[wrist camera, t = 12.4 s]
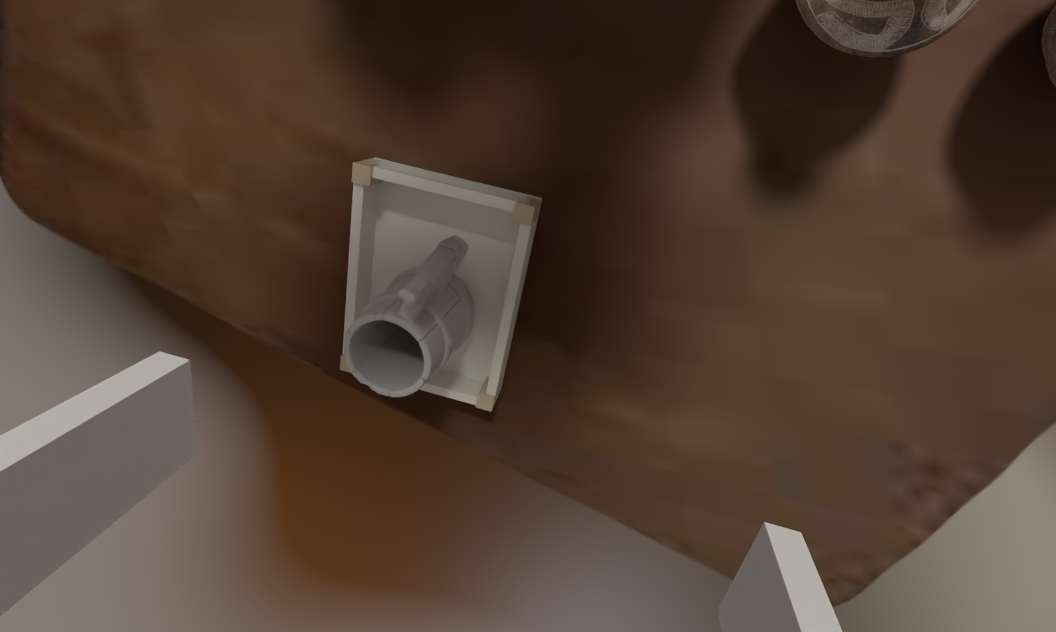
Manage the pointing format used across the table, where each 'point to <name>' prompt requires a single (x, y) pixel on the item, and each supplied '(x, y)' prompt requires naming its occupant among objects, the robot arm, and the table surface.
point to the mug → (412, 325)
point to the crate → (413, 234)
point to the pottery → (898, 25)
